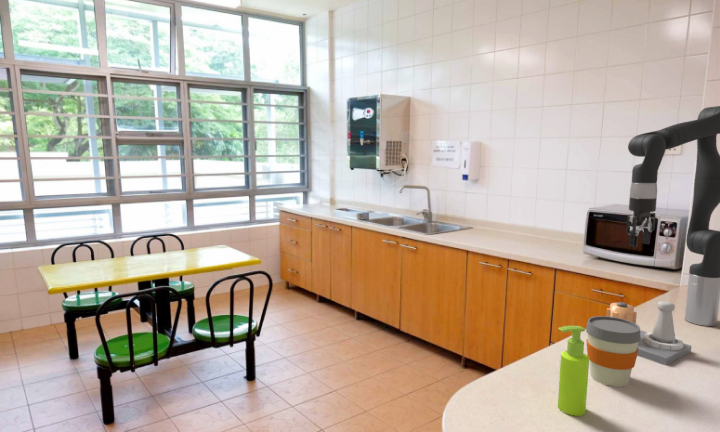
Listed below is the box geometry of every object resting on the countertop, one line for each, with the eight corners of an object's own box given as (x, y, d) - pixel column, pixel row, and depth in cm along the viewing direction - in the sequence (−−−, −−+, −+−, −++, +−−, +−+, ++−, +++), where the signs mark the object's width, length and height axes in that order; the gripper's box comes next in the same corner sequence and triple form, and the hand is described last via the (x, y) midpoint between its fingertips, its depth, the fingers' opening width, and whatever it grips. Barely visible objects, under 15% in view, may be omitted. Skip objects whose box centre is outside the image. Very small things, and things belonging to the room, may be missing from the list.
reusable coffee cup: (608, 393, 113) (612, 335, 111) (572, 370, 125) (575, 318, 123) (648, 386, 117) (653, 330, 115) (609, 365, 129) (613, 313, 127)
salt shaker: (667, 339, 141) (671, 299, 139) (678, 347, 136) (682, 305, 134) (647, 339, 142) (651, 298, 140) (657, 346, 136) (661, 304, 134)
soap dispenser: (548, 402, 109) (553, 322, 106) (576, 401, 109) (581, 321, 107) (561, 416, 103) (567, 332, 100) (590, 415, 104) (596, 331, 101)
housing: (619, 329, 155) (622, 293, 153) (690, 352, 137) (694, 311, 135) (593, 340, 146) (596, 301, 144) (665, 365, 128) (669, 321, 127)
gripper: (641, 194, 155) (638, 241, 158) (620, 197, 148) (616, 246, 150) (665, 196, 149) (662, 244, 151) (644, 198, 141) (641, 249, 144)
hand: (639, 245), depth 151 cm, fingers open, 8 cm apart
